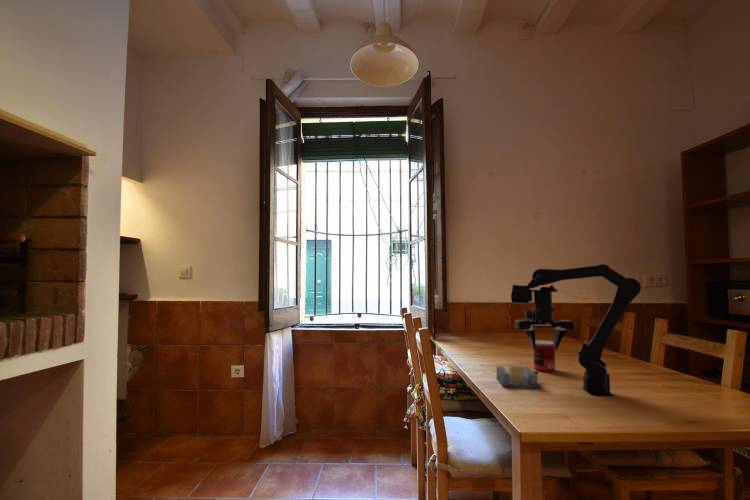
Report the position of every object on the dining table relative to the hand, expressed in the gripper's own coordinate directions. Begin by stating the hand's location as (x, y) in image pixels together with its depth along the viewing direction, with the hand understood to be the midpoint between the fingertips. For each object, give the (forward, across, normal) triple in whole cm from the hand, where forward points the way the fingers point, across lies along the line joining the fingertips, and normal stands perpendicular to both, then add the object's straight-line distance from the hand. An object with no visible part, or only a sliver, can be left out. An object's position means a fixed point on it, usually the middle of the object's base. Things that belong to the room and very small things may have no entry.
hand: (544, 349), depth 126 cm
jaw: (+10, +4, 0) cm, 11 cm away
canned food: (+12, -7, -20) cm, 24 cm away
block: (+11, +10, 0) cm, 15 cm away
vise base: (+12, +10, 0) cm, 15 cm away
